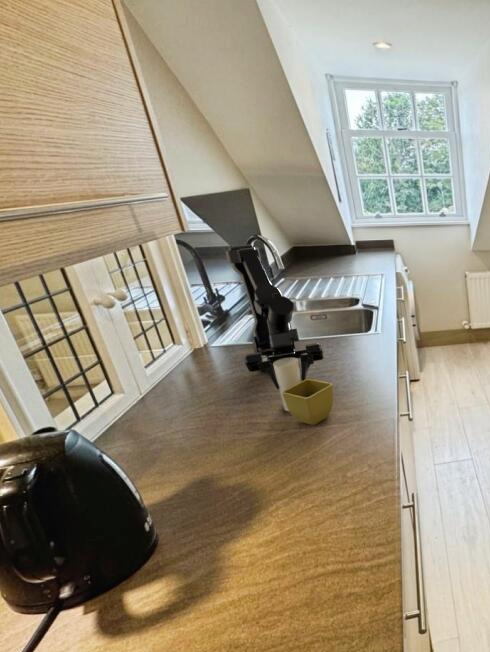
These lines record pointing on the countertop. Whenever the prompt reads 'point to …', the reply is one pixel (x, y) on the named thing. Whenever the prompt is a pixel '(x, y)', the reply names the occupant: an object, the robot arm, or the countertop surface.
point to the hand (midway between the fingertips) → (290, 386)
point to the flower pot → (309, 400)
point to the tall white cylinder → (287, 375)
